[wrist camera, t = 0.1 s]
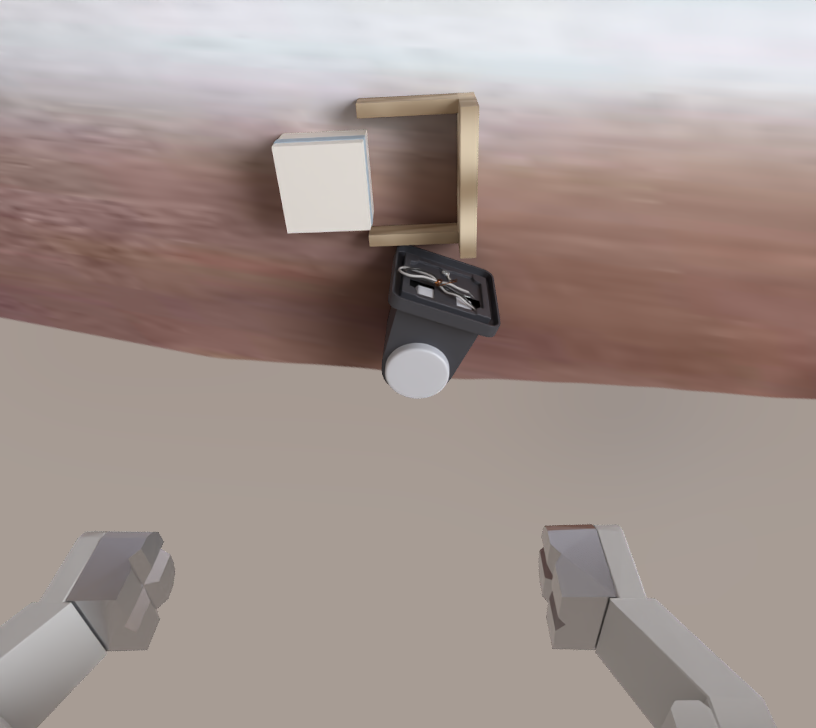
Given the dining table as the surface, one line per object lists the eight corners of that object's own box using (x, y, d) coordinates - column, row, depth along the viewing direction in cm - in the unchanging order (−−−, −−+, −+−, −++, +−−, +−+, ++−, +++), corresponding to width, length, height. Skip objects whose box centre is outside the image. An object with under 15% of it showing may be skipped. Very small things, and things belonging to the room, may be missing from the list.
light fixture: (365, 330, 66) (355, 391, 58) (400, 234, 58) (393, 288, 50) (451, 356, 68) (453, 418, 59) (495, 265, 60) (505, 323, 52)
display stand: (358, 98, 51) (351, 112, 46) (473, 92, 50) (479, 106, 45) (371, 237, 58) (366, 261, 54) (471, 233, 58) (476, 257, 53)
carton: (282, 132, 53) (270, 146, 49) (367, 128, 52) (362, 141, 48) (296, 214, 58) (287, 233, 53) (374, 211, 57) (371, 230, 53)
